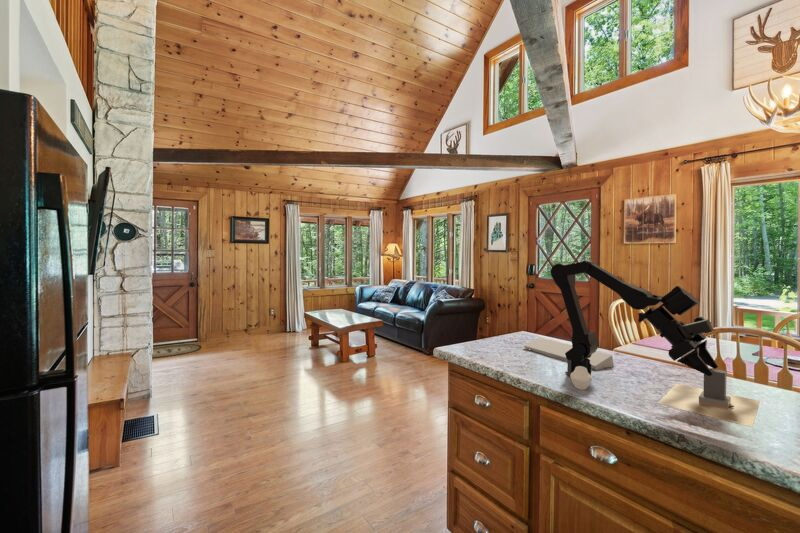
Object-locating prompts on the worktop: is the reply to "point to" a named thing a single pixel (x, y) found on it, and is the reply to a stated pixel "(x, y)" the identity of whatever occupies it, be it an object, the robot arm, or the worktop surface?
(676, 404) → the birch board
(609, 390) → the worktop surface
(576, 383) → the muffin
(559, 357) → the decorative molding
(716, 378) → the grey stepped block
